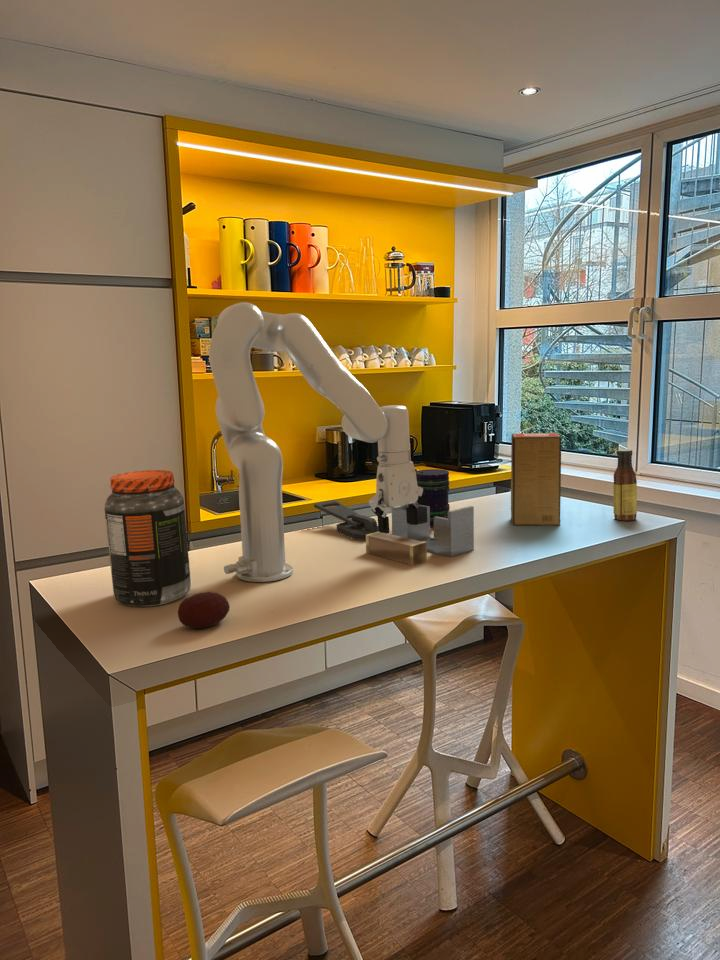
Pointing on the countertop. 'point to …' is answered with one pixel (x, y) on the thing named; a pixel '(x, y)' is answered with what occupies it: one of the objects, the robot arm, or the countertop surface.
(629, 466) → the sauce bottle
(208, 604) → the potato
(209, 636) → the countertop surface
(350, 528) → the zipper pull
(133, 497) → the supplement tub
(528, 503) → the food packaging
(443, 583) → the countertop surface
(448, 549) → the grey cradle stand
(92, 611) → the countertop surface
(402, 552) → the brown rectangular block
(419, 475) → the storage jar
